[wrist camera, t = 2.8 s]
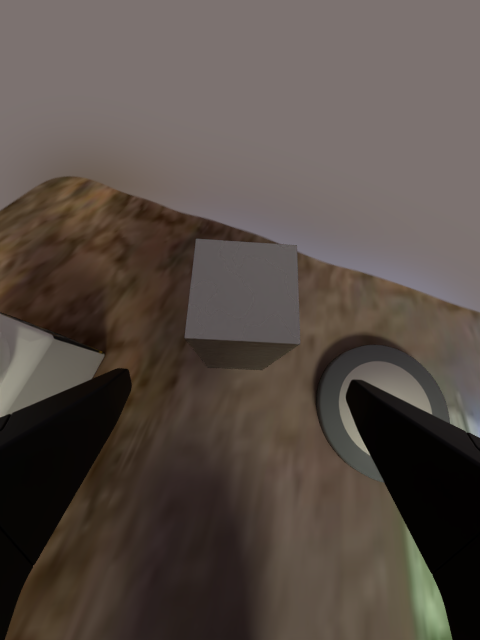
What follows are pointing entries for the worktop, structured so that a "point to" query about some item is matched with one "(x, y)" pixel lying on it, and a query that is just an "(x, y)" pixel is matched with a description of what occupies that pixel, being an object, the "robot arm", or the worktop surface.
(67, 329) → the worktop surface
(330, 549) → the worktop surface
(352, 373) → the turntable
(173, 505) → the worktop surface
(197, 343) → the block
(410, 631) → the worktop surface
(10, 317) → the medicine bottle
